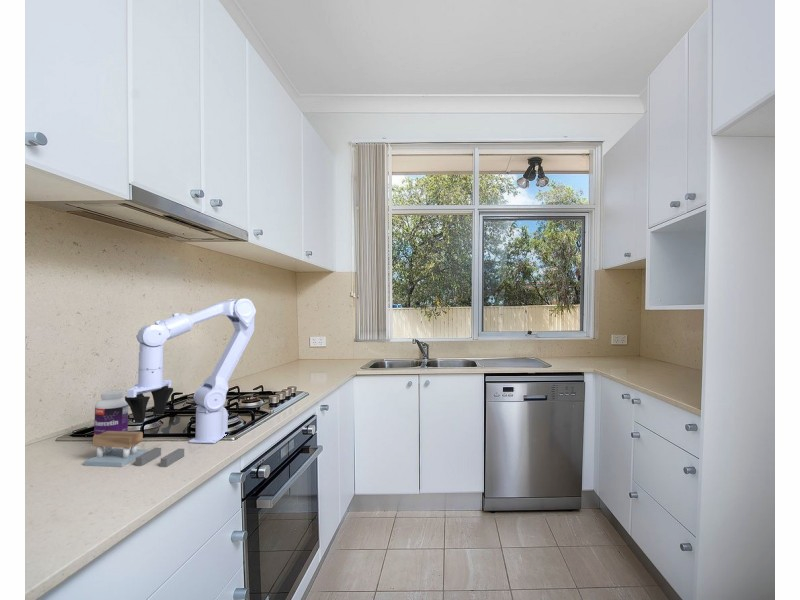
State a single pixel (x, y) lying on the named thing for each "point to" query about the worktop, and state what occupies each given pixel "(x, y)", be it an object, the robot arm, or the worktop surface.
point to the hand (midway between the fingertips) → (149, 418)
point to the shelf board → (117, 439)
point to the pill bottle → (111, 412)
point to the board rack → (156, 453)
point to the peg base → (114, 456)
